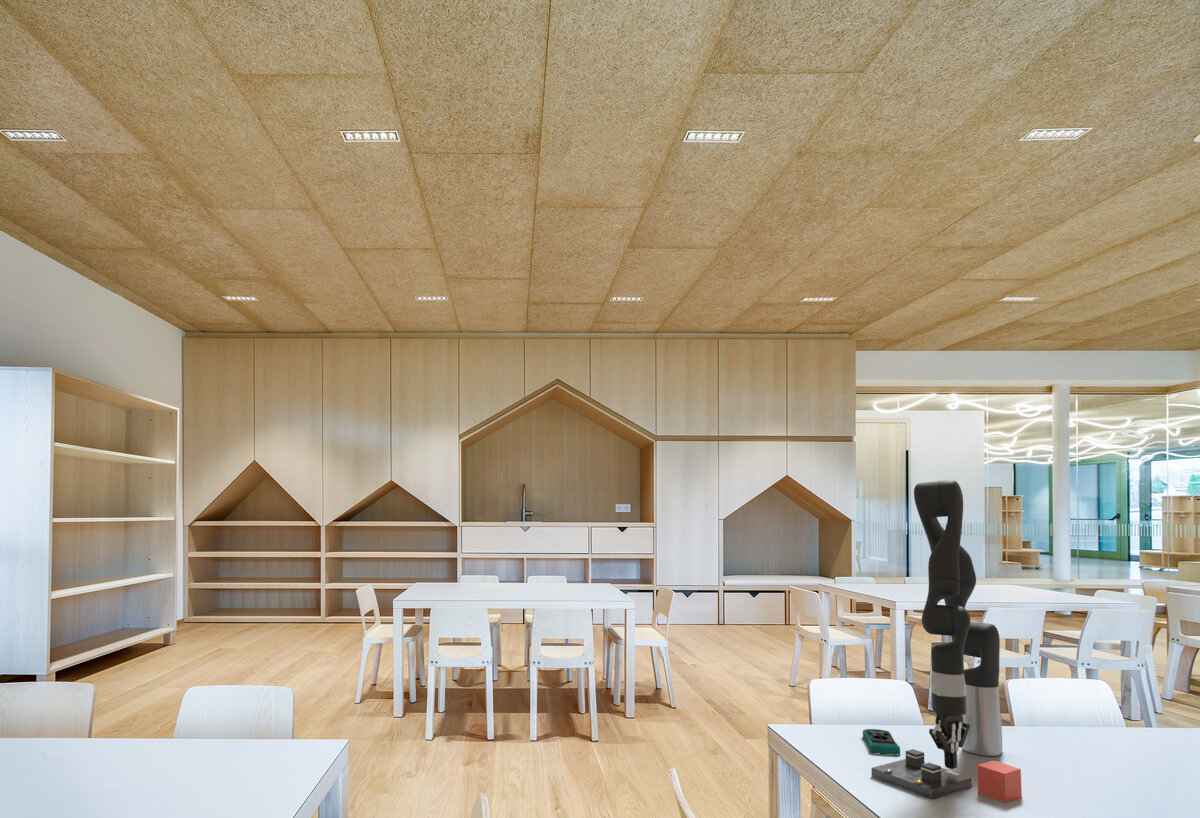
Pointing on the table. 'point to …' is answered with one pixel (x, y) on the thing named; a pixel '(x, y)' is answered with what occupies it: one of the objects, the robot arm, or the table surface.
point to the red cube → (999, 781)
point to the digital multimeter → (880, 741)
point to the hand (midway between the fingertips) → (951, 767)
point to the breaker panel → (913, 781)
